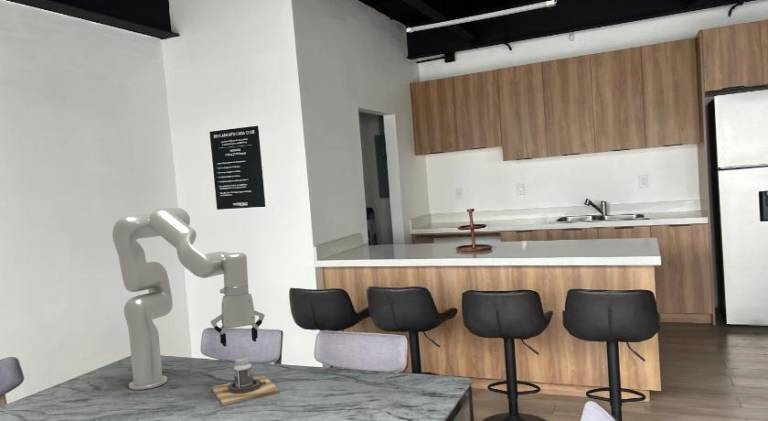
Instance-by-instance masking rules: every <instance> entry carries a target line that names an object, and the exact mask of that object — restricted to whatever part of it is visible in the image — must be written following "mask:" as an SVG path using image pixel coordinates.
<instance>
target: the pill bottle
mask: <svg viewBox="0 0 768 421" xmlns="http://www.w3.org/2000/svg"><path fill="white" fill-rule="evenodd" d="M250 361H251V360H250V356H247V355H244V356H243V355H242V356H238V357H236V358H234V367H233V374H234V375H233V376H234V382H235V388H246V387H250V386H253V378H254V377H253V367H252V364H251V363H250Z"/></svg>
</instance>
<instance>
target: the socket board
mask: <svg viewBox="0 0 768 421" xmlns="http://www.w3.org/2000/svg"><path fill="white" fill-rule="evenodd" d="M280 391H281V390H280V388H279V387H278V386H276V385H275V383H273V382H272V381H271V380H270V379H269V378H268V377H267V376H266V375H261V376H257V377H253V386H250V387H246V388H235V381H233V382H228V383H224V384H219V385H215V386H211V392H213V394H214V395H215V397H216V399H217V400H218V401H219V403H220V404H221V406H222V407H223V406H226V405H227V406H228V405H232V404H236V403H241V402H246V401H249V400H253V399H258V398H259V399H260V398H263V397H267V396H270V395H276V394H280Z"/></svg>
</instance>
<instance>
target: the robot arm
mask: <svg viewBox="0 0 768 421" xmlns="http://www.w3.org/2000/svg"><path fill="white" fill-rule="evenodd" d="M190 224H191V218H190V215H189V213H188V212H187V210H185V209H183V208H180V207H165V208H159V209H156V210H154V211H153V212H152V213H142V214H141V213H138V214H130V215H125V216H123V217H121V218H119V219H118V220H117V221H116V222H115V224H114V225H113V228H112V233H111V234H112V242H113V244H114V247H115V249H116V253H117V257H118V261H119V267H120V272H121V276H122V282H123V286H124V288H125V289H126V290H127V291H128V292H130V293H136V292H137V293H138V292H144V291H146V290H148V293H143V294H138V295H135V296H133V297H131V298H130V299H128V300H127V301H126V302H125V305H124V306H123V314H124V318H125V321H126V325H127V329H128V336H129V347H130V358H131V369H132V381H130V382H129V384H128V389H131V390H136V391H139V390H147V389H148V390H149V389H153V388H157V387H160V386H162V385H164V384H166V383H167V382H168V376H166V375H163V371H162V357H161V356H162V355H161V346H160V345H161V344H160V335H159V330H158V328H157V326H156V325H155V323H154V321H153V320H157V319H159V318H162V317H165V316H167V315H169V314H170V313H171V311H172V309H173V304H174V302H173V295H172V290H171V289H172V288H171V286H170V285H171V284H170V279H169V274H168V272H167V270H166V268H165V266H164V265H163V264H162V263H160V262H158V261H148V262H147V260H146V252H145V251H144V248H143V247H142V245H141V244H140V243H139V242H138V239H148V238H154V237H155V238H156V237H161V238H163V239H164V240H165V241H166V242H167V243H168V244H170V245H171V246H172V247H173V248H175V249H176V253H177V258H178V260H179V262H180V264H181V265H182V266H183V267H184V268H185V269H187V270H188V271H189V272H190V273H192V275H193V276H196V277H198V278H200V279H207V278H212V277H214V276H215V277H216V276H219V275H220V276H221V275H223V284H224V286H223V288H220V289H219V294H223V296H222V301H221V313H220V315H218V316H216V317H215V318H213V319H212V320H210V325H211V326H212V327H213V329H214V330H215V331H216V332H218V333H219V338H220V340H219V341H220V344H221V345H222V346H223V347H227V335H226V332H227V330H228V329H232V328H233V329H234V328H235V329H236V328H240V327H247V326H251V327H252V328H251V340H252V341H253V342H255V343H256V342H257V339H258V329H259V327H260V326H261V325H262V324H263V321H264V319H265V313H262V312H259V311H257V310H255V306H254V301H253V295H252V293H249V277H248V276H249V275H248V260H247V259H248V257H247V255H246V253H244V252H227V251H215V252H210V253H205V254H204V253H202V252H200V251H199V250H198V249H196V247H194V246H193V244H195V241H196V238H197V231H196V230H195V229H194V228H193V227H192V226H190ZM256 317H258V319H257V321H256ZM220 321H221V324H222V325H221V326H218V325H217V324H218V323H219V322H220Z"/></svg>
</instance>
